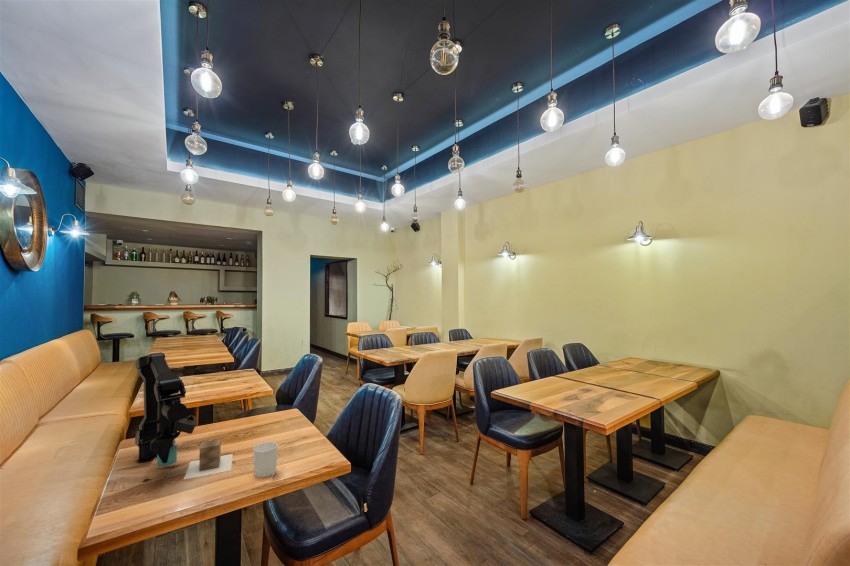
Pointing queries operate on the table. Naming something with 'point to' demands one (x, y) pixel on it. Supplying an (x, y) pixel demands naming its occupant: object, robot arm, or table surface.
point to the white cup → (265, 459)
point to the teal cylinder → (171, 458)
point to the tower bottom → (209, 463)
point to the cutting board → (194, 469)
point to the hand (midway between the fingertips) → (167, 459)
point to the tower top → (210, 449)
